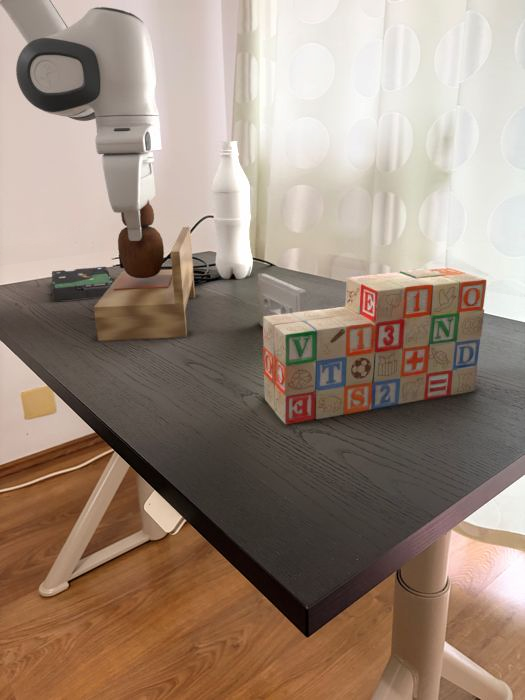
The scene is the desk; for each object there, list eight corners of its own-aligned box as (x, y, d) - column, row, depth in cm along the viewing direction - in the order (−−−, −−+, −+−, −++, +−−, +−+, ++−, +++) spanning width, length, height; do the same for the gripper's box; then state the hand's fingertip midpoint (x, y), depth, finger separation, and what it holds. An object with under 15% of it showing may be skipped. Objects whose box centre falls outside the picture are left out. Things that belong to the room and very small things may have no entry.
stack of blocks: (285, 427, 55) (282, 301, 51) (263, 401, 61) (260, 285, 56) (476, 392, 61) (488, 277, 57) (440, 371, 67) (449, 265, 63)
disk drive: (53, 285, 113) (54, 303, 99) (50, 271, 112) (51, 287, 99) (107, 279, 116) (116, 296, 103) (106, 265, 115) (114, 280, 102)
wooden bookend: (98, 342, 80) (86, 254, 76) (125, 299, 101) (117, 229, 96) (186, 338, 80) (179, 251, 76) (195, 297, 101) (190, 226, 97)
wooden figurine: (114, 277, 90) (102, 176, 84) (139, 270, 94) (129, 173, 89) (147, 282, 86) (137, 176, 81) (172, 274, 91) (164, 173, 86)
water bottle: (260, 276, 115) (256, 140, 106) (234, 283, 110) (227, 141, 101) (235, 271, 119) (229, 141, 110) (208, 277, 114) (200, 142, 106)
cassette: (309, 348, 75) (309, 290, 73) (296, 350, 75) (296, 292, 72) (267, 323, 85) (266, 272, 83) (256, 325, 85) (254, 273, 82)
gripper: (120, 139, 93) (129, 226, 98) (91, 139, 74) (105, 249, 79) (159, 137, 93) (167, 225, 98) (142, 138, 74) (152, 247, 79)
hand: (139, 236), depth 88 cm, fingers closed on wooden figurine, 6 cm apart
